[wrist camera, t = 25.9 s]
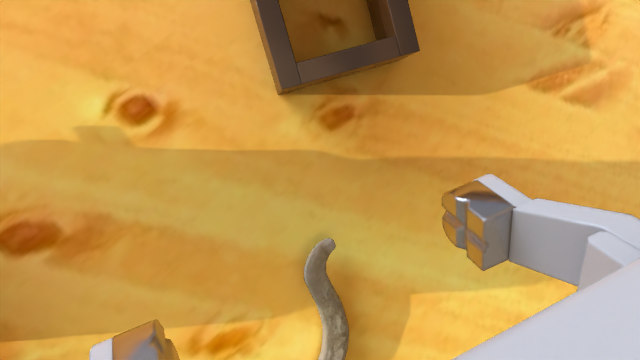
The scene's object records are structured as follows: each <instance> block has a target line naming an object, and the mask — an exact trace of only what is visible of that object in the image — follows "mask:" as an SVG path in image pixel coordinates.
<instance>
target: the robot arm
mask: <svg viewBox="0 0 640 360" xmlns="http://www.w3.org/2000/svg"><path fill="white" fill-rule="evenodd" d="M442 206H443V207H444V208H446V209H447V210H446V211H445V213H444V215H443V217H442V220H443V228H444V230H445V233H446V235H447V237H448V238H449V239H450V241H451V242H452V243H453V244H454V245H455V246H456V247H459V248H462V249H466V251H467V257H468V258H469V259H470V260H471V261H472V262H473V263H475V264H476V265H477V266H478V267H479V268H480V269H481V270H482V271H485V270H487V269H489V268H491V267H493V266H495V265H498V264H500V263H502V262H504V261H506V260H508V259H509V261H510V262H513V263H516V264H518V265H521V266H524V267H526V268H529V269H532V270H535V271H537V272H540V273H543V274H545V275H548V276H551V277H554V278H556V279H559V280H562V281H564V282H567V283H570V284H573V285H575V286H577V291H576V292H575V293H573V294H571V295H570V296H568V297H566V298H564V299H562V300H560V301H558V302H557V303H555V304H553V305H551V306H549V307H547V308H546V309H544V310H542V311H540V312H538V313H536V314H534V315H533V316H531V317H529V318H527V319H525V320H523V321H521V322H520V323H518V324H516V325H514V326H512V327H510V328H508V329H507V330H505V331H503V332H501V333H499V334H497V335H496V336H494V337H492V338H490V339H488V340H486V341H484V342H483V343H481V344H479V345H477V346H475V347H473V348H472V349H470V350H468V351H466V352H464V353H462V354H460V355H459V356H457V357H455V358H453V359H451V360H640V219H638V218H636V217H634V216H632V215H631V214H625V213H619V212H614V211H608V210H602V209H596V208H591V207H585V206H579V205H574V204H568V203H562V202H557V201H551V200H545V199H539V198H536V199H534V200H532V199H530V198H529V197H527V196H526V195H524V194H523V193H521V192H520V191H518V190H516V189H515V188H513V187H512V186H510V185H509V184H507V183H506V182H504V181H502V180H501V179H499V178H498V177H496V176H495V175H493V174H486V175H484V176H481V177H479V178H477V179H475V180H473V181H471V182H468V183H466V184H464V185H462V186H459V187H457V188H455V189H453V190H451V191H448V192H446V193H444V194H443V196H442ZM89 360H180V359H179V356H178V353H177V351H176V349H175V346H174V345H173V343H172V341H171V340H170V339H166V338H165V334H164V328H163V327H162V325H161V324H160V322H159V321H158V320H156V319H155V320H153V321H150V322H148V323H145V324H143V325H140V326H138V327H136V328H133V329H131V330H128V331H126V332H123V333H121V334H119V335H116V336H114V337H113V338H110V339H108V340H105V341H103V342H100V343H98V344H95V345H93V346H92V348H91V350H90V354H89Z"/></svg>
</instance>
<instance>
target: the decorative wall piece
mask: <svg viewBox="0 0 640 360" xmlns="http://www.w3.org/2000/svg"><path fill="white" fill-rule="evenodd" d="M335 247H336V245H335V242H334V240H333V239H330V238H327V239H323V240H322V241H320V242H319V243H317V244H316V246H315V247H314V248H313V249H312V251H311V252H310V254H309V256H308V258H307V261H306V264H305V267H304V280H305V283H306V285H307V287H308V289H309V291H310V293H311V295H312V297H313V298H314V300H315V302H316V305H317V308H318V311H319V314H320V318H321V321H322V327H323V338H322V348H321V353H320V356H319V358H318V360H345V357H346V353H347V348H348V340H349V327H348V322H347V319H346V315H345V312H344V309H343V305H342V303H341V301H340V299H339V297H338V295H337V293H336V291H335V290H334V288H333V286H332V284H331V282H330V280H329V278H328V276H327V273H326V261H327V259H328V257H329V255H330V253H331V252H332V251H333V250H334V249H335Z"/></svg>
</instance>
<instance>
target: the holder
mask: <svg viewBox="0 0 640 360" xmlns="http://www.w3.org/2000/svg"><path fill="white" fill-rule="evenodd" d="M250 2H251V5H252V8H253V12H254V15H255V19H256V22H257V25H258V29H259V32H260V35H261V39H262V42H263V46H264V49H265V52H266V56H267V59H268V62H269V66H270V69H271V73H272V76H273V79H274V83H275V86H276V89H277V93H278V95H279V94H283V93H286V92H290V91H293V90H296V89H300V88H304V87H307V86H311V85H314V84H318V83H321V82H325V81H329V80H332V79H336V78H339V77H343V76H346V75H350V74H353V73H357V72H360V71H364V70H367V69H371V68H374V67H378V66H381V65H385V64H389V63H392V62H396V61H399V60H401V59H404V58H406V57H408V56H410V55H412V54H414V53H416V52H418V51H420V49H419V45H418V41H417V37H416V33H415V29H414V25H413V21H412V16H411V12H410V8H409V4H408V0H367V4H368V7H369V11H370V15H371V19H372V23H373V27H374V31H375V35H376V39H377V41H374V42H371V43H367V44H364V45H360V46H356V47H353V48H349V49H345V50H342V51H338V52H335V53H331V54H327V55H324V56H320V57H317V58H313V59H309V60H306V61H302V62H298V63H296V62H295V58H294V55H293V51H292V48H291V44H290V41H289V37H288V34H287V30H286V27H285V23H284V20H283V16H282V13H281V9H280V6H279V2H278V0H250Z"/></svg>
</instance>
